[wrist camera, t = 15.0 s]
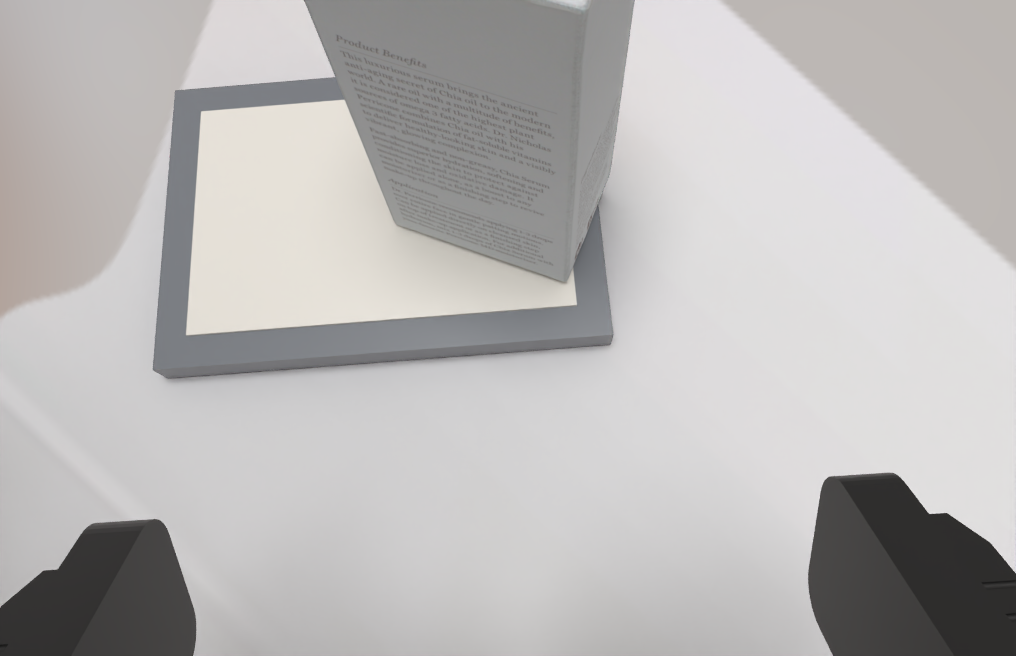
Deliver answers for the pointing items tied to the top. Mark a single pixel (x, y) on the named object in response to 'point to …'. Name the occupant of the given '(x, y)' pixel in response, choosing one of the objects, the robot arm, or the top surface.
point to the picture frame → (330, 252)
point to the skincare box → (485, 115)
